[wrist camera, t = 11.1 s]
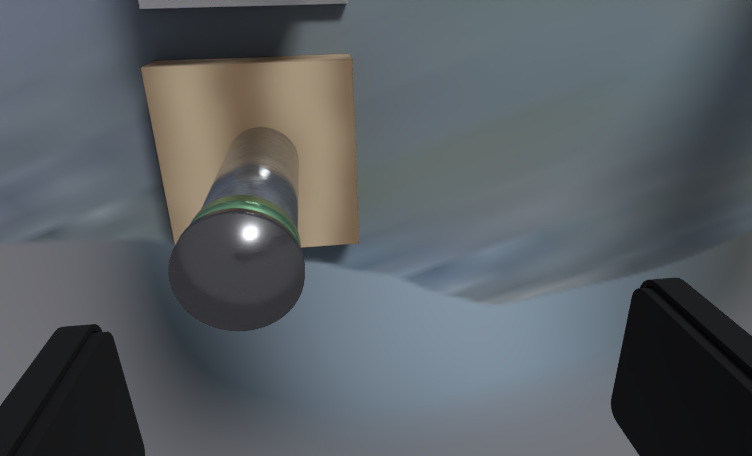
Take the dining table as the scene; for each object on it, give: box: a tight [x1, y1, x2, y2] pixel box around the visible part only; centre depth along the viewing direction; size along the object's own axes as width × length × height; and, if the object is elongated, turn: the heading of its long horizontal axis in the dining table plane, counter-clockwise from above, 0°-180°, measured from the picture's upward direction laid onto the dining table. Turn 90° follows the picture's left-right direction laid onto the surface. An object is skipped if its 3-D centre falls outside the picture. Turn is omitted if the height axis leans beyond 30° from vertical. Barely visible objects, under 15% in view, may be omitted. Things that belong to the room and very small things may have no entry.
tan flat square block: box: [141, 54, 359, 247], centre depth 35 cm, size 12×12×3 cm
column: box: [169, 127, 305, 331], centre depth 27 cm, size 5×5×15 cm
